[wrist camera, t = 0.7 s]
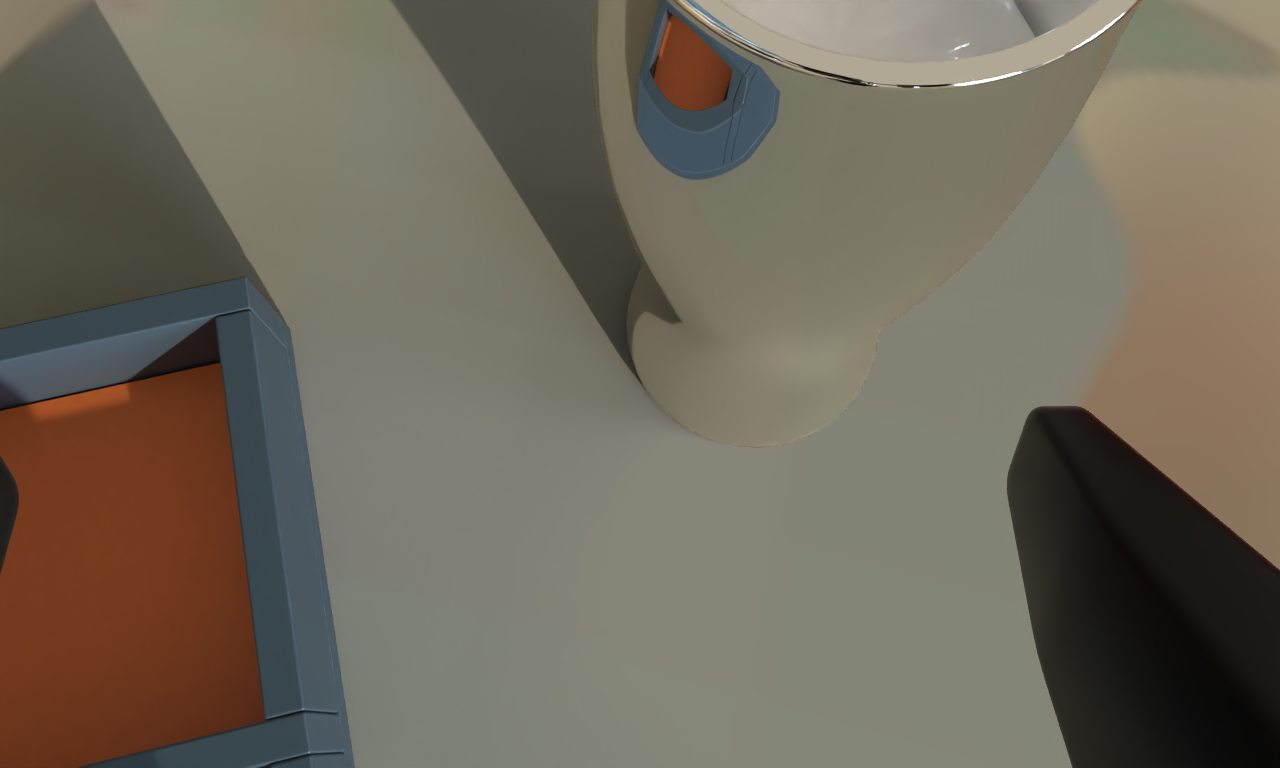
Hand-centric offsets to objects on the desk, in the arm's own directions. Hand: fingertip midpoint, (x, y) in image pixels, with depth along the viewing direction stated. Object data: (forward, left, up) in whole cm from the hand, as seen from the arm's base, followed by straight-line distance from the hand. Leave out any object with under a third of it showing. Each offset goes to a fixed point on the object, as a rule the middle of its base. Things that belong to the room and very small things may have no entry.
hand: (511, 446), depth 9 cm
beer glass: (+6, -6, -15) cm, 17 cm away
